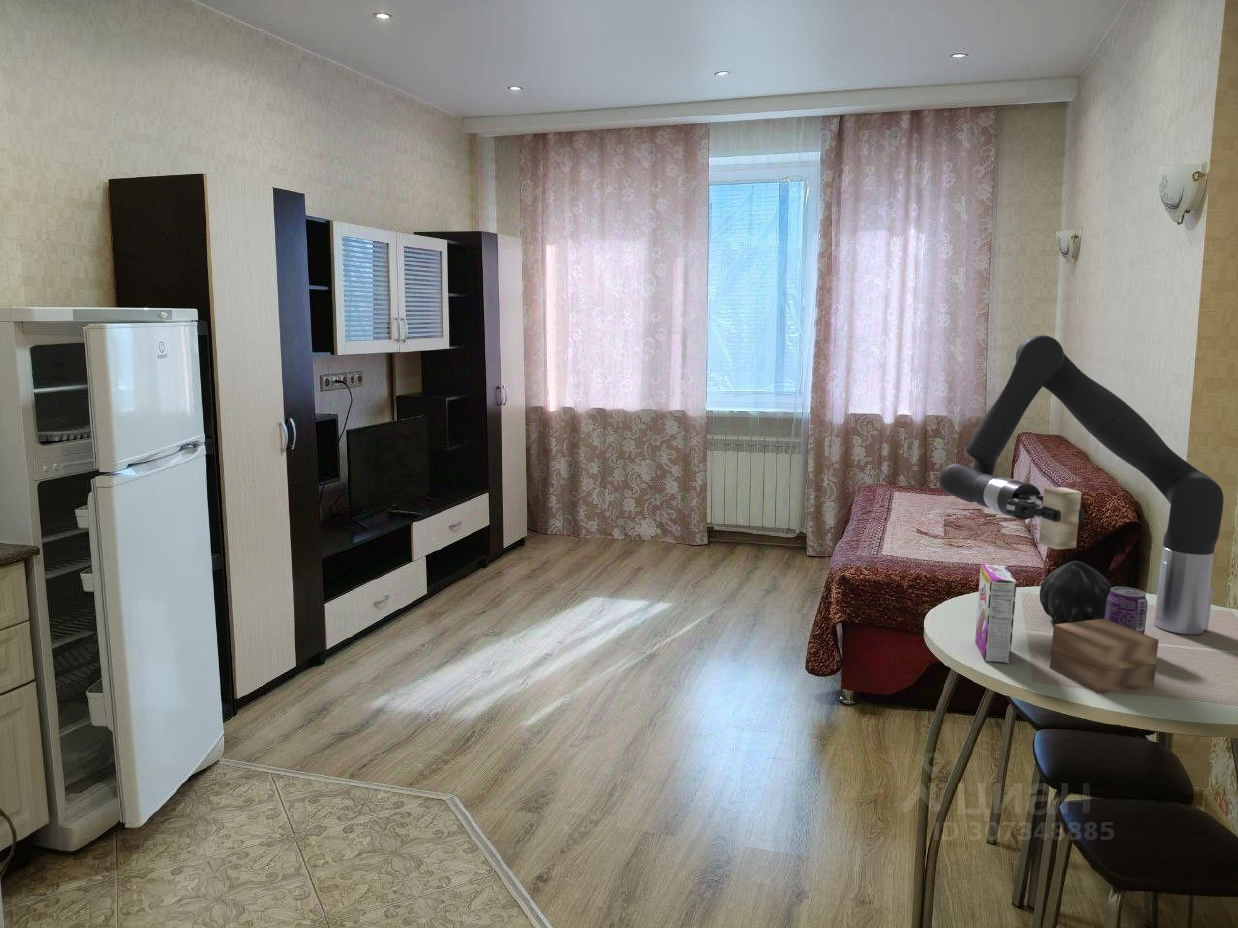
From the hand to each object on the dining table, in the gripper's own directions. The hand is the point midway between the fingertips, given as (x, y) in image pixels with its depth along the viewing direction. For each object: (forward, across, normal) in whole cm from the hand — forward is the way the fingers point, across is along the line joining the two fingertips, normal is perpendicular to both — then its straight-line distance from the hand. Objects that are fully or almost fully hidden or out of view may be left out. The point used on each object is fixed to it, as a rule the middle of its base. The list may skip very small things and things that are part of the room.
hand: (1070, 515), depth 177 cm
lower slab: (+11, 0, +28) cm, 30 cm away
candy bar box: (-4, -12, +28) cm, 31 cm away
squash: (-15, +17, +28) cm, 36 cm away
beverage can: (0, +15, +28) cm, 32 cm away
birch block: (-3, 0, +6) cm, 7 cm away
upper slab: (+11, 0, +24) cm, 26 cm away
